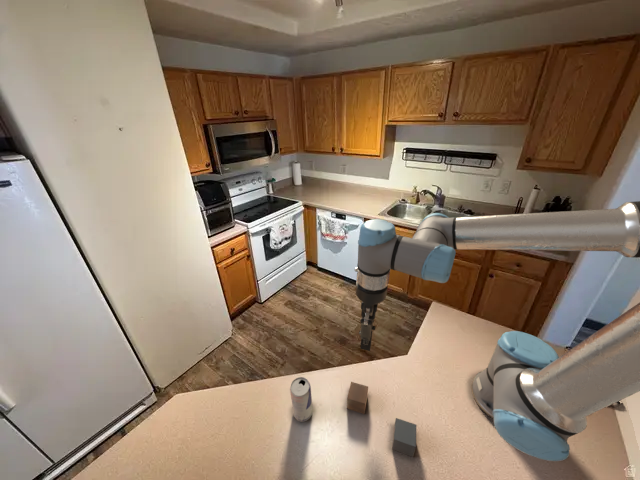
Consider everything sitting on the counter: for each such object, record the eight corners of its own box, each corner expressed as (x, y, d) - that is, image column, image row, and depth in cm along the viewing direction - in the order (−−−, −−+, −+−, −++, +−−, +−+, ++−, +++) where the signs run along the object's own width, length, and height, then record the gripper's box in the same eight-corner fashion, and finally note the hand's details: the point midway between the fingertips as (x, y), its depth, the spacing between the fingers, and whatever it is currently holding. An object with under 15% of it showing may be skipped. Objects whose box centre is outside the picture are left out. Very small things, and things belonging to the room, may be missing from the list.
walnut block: (367, 396, 75) (368, 386, 73) (364, 414, 71) (365, 403, 69) (350, 391, 77) (351, 381, 74) (346, 408, 73) (347, 398, 70)
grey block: (413, 434, 67) (416, 424, 64) (412, 457, 62) (415, 447, 60) (393, 428, 68) (395, 417, 66) (391, 449, 64) (393, 439, 62)
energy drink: (315, 406, 73) (313, 380, 68) (307, 425, 69) (304, 399, 63) (299, 399, 75) (296, 373, 70) (290, 417, 71) (285, 391, 66)
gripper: (361, 264, 68) (356, 327, 80) (350, 296, 58) (347, 363, 69) (390, 269, 66) (381, 333, 78) (385, 303, 56) (375, 371, 67)
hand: (365, 347), depth 73 cm, fingers closed
